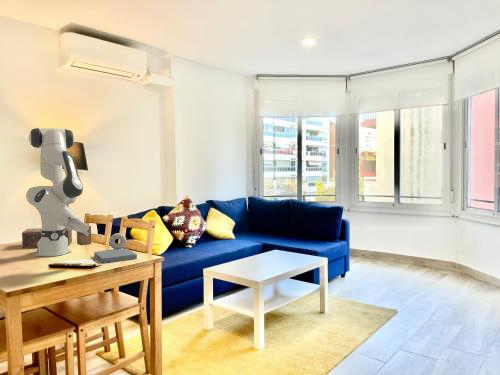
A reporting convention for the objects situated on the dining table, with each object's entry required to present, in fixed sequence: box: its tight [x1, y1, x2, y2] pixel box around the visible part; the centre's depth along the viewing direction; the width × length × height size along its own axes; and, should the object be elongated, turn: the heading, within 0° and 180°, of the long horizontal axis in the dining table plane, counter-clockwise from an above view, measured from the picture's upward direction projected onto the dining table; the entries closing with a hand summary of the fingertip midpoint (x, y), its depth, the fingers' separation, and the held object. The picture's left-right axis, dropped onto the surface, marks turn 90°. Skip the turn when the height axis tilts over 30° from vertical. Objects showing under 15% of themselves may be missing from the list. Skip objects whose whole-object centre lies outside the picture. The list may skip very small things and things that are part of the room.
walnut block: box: [76, 224, 92, 246], centre depth 193 cm, size 5×5×9 cm
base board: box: [93, 247, 138, 264], centre depth 213 cm, size 18×18×2 cm
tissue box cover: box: [21, 227, 73, 249], centre depth 245 cm, size 26×14×10 cm, turn 107°
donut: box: [108, 232, 127, 250], centre depth 233 cm, size 10×4×10 cm, turn 108°
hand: (85, 234), depth 194 cm, fingers closed on walnut block, 5 cm apart
